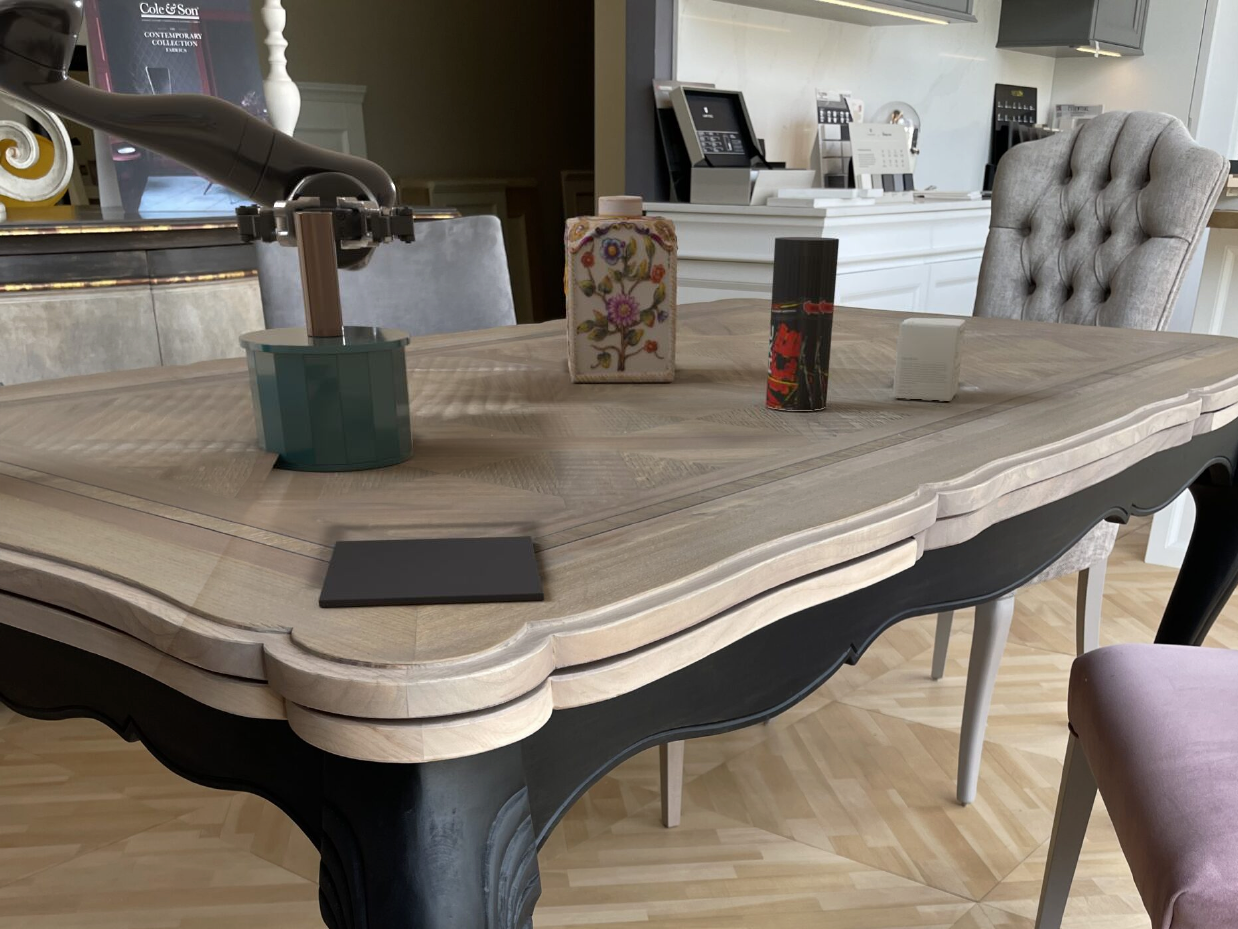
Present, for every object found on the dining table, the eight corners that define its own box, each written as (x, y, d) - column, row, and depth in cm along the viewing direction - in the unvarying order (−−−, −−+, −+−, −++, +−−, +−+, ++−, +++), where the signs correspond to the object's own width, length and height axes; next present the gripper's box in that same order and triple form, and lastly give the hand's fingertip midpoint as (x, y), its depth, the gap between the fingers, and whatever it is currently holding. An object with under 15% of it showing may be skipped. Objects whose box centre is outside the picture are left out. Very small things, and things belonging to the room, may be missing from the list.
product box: (951, 403, 126) (960, 325, 123) (890, 399, 128) (898, 322, 124) (957, 394, 131) (967, 319, 128) (899, 390, 133) (907, 316, 130)
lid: (228, 364, 91) (207, 214, 86) (252, 342, 102) (235, 209, 97) (409, 362, 92) (398, 216, 88) (413, 340, 104) (404, 210, 99)
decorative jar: (666, 368, 146) (670, 195, 138) (676, 383, 136) (681, 198, 127) (564, 368, 146) (561, 194, 137) (567, 384, 135) (564, 197, 127)
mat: (319, 607, 66) (318, 600, 66) (336, 547, 77) (335, 541, 77) (543, 600, 68) (543, 593, 68) (531, 542, 78) (530, 536, 78)
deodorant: (837, 409, 122) (851, 240, 115) (784, 413, 120) (795, 240, 113) (806, 400, 127) (817, 236, 120) (754, 404, 125) (763, 237, 118)
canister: (251, 473, 95) (235, 354, 91) (271, 442, 105) (257, 335, 101) (411, 470, 96) (402, 353, 92) (414, 440, 107) (406, 333, 103)
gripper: (249, 171, 109) (220, 172, 95) (414, 173, 111) (409, 174, 97) (261, 265, 113) (234, 280, 99) (420, 266, 114) (416, 279, 100)
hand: (320, 227), depth 98 cm, fingers open, 8 cm apart
